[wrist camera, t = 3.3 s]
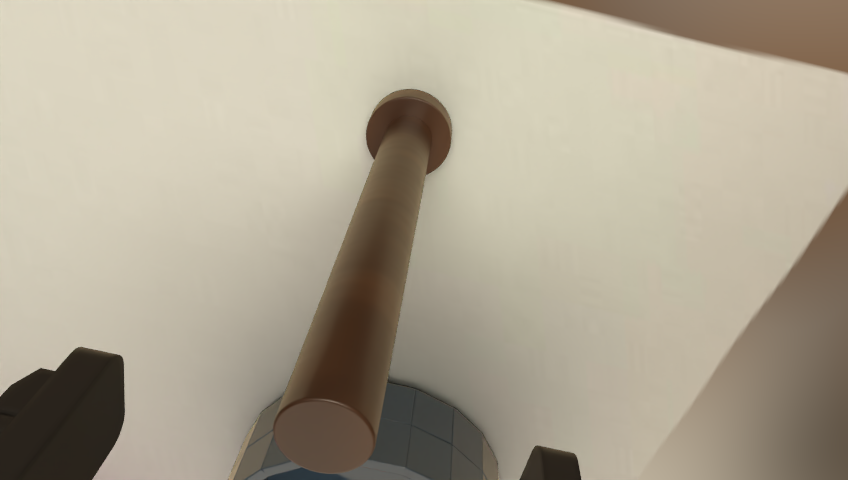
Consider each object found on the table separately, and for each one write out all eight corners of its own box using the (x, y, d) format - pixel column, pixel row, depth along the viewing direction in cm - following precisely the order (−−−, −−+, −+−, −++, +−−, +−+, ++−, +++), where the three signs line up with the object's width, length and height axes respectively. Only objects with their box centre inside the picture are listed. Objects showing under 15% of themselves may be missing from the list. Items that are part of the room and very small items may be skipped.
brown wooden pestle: (460, 99, 27) (436, 389, 11) (441, 175, 29) (397, 517, 13) (377, 80, 27) (237, 346, 11) (363, 157, 29) (224, 481, 13)
